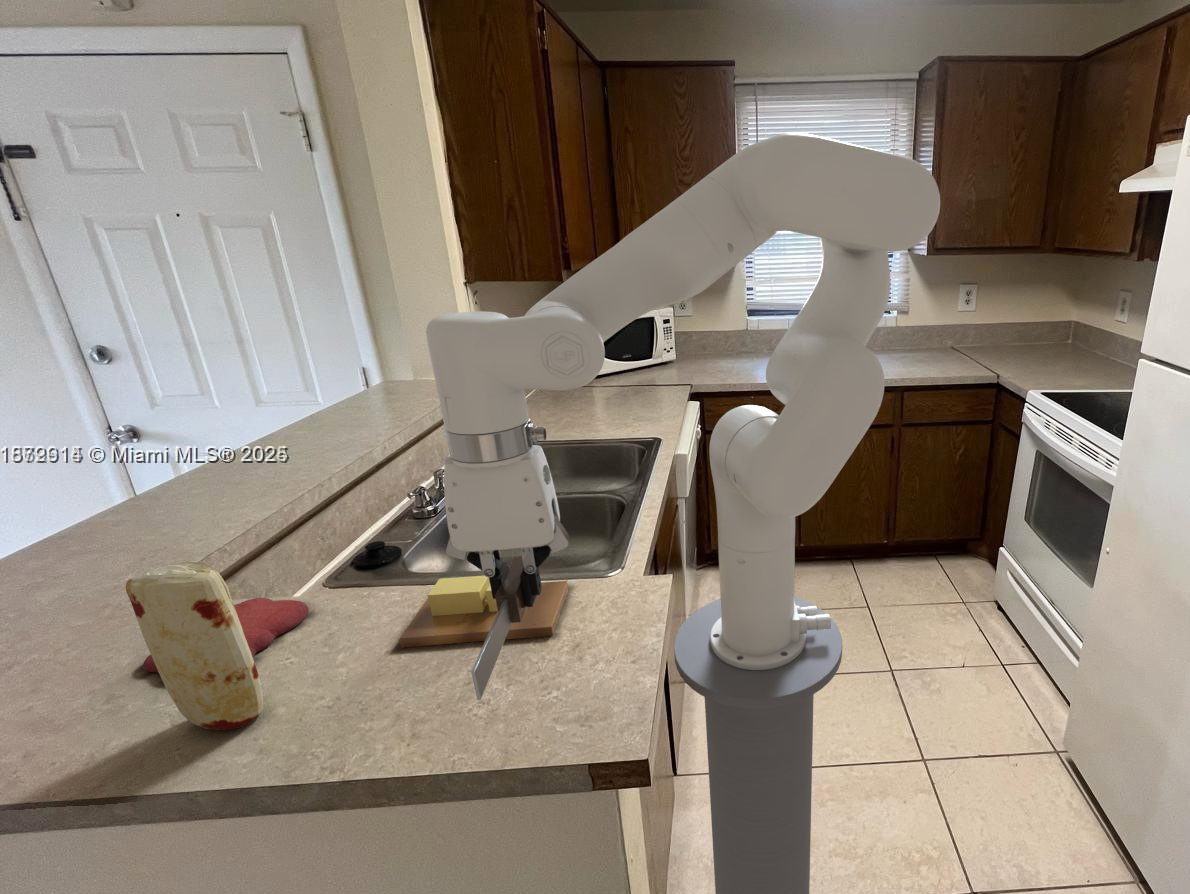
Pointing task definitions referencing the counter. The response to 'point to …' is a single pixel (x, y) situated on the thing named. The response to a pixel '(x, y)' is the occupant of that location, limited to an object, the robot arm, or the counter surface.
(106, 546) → the counter surface
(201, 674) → the food model
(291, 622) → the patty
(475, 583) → the butter
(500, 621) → the knife
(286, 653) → the counter surface
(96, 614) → the counter surface
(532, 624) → the cutting board
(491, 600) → the butter pat
